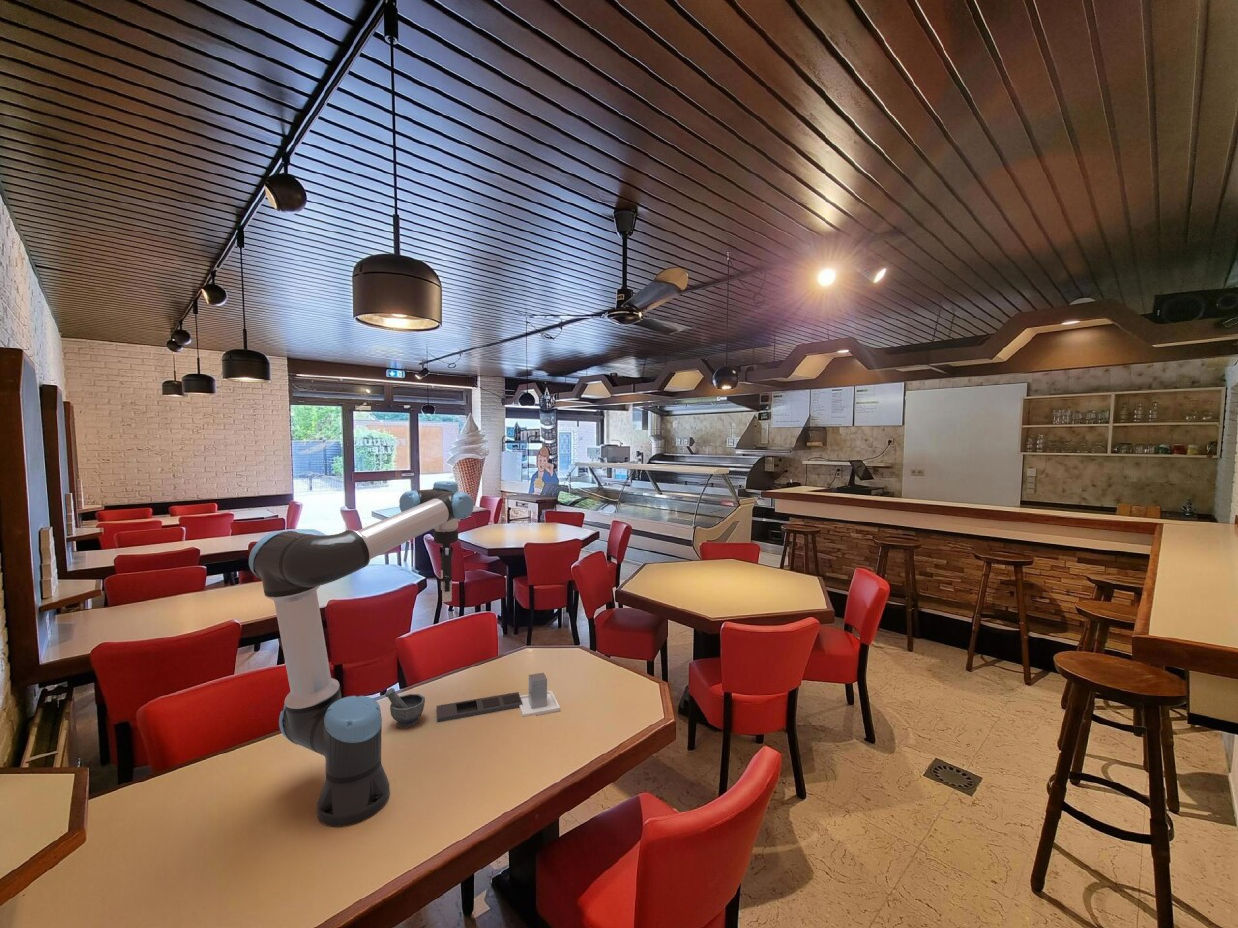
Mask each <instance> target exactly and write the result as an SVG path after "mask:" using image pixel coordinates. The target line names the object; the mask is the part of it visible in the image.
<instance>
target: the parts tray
mask: <svg viewBox="0 0 1238 928" xmlns="http://www.w3.org/2000/svg"><path fill="white" fill-rule="evenodd" d="M520 698H521V701H522V703H523V706H522V705H519V708H518V709H519V711H520V713H521V717H522V718H526V717H530V716H536V717H537V716H542V715H545V714H546V715H548V714H552V713H553V714H554V713H557V712H561V706H560V704H559V702H558V701H557V698H556V696H555V695H554V692H553V690H547V706H546V707H541V708H535V709H531V706H530V704H529V693H528V694H523V695H520Z"/></svg>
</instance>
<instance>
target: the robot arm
mask: <svg viewBox="0 0 1238 928" xmlns="http://www.w3.org/2000/svg"><path fill="white" fill-rule="evenodd" d="M458 484H459V483H457V482H456V481H448V480H443V481H434V483H433V487H432V488H430V489H429V488H427V489H418V490H416V489H413V490H410V491H409V490H407V491H405V492H403V493H402V494H401V496H400V498H399V501H398V502H399V510H400V511H401V512H399V513H396V514H395V515H394V514H393V515H392V516H389V517H387V518H385V519H382V520H380V521H377V522H375V523H373V524H370V525H367V526H365V527H362V528H360V529H358V530H355V529H348V530H344V531H342V532H339V533H335V534H327V535H320V534H319V535H318V534H309V533H303V532H297V531H294V530H285V531H284V530H280V531H279V530H278V531H274V532H271V533H268V534H267V535H264V536H263V537H261V538H260V539H259V540H258V541H257V542H256V543H255V545H254V546H253V547H252V549H251V550H250V553H249V556H248V566H249V567H248V568H249V569H250V571H251V572H252V574H254V576H255V577H256V578H258V579H261V582H262V588H263V594H264V596H265V597H266V598H267V599H270V600H272V601H274V607H275V613H276V619H277V625H278V630H279V635H280V641H281V647H282V651H283V657H284V663H285V668H286V673H287V679H288V684H289V690H290V691H289V692H288V694H287V695H286V696H285V699H284V705H283V709H282V710H281V711H280V714H279V716H278V717H279V719H278V725H279V726H278V727H279V730H280V732H281V733H282V735H283V736H284V737H285V739H287V740H288V741H289V742H291V743H292V744H294V745H297V746H301V747H303V748H306V749H308V750H309V751H310V750H311V751H312V752H314V753H317V754H320V755H321V756H324V758H325V779H324V782H323V784H322V785H323V786H322V787H321V790H320V791H321V792H320V794H319V797H318V799H317V803H316V812H317V813H316V816H317V820H319V822H320V823H321V824H323V825H326V826H327V827H328V826H329V827H346V826H351V825H355V824H358V823H361V822H363V821H364V820H367V819H369V818H371V817H372V816H374V815H375V814H377V813H378V812H379V811H380V810H382V809H383V808H384V806H385V805H386V803H387V802H388V800H389V798H390V792H391V791H390V789H391V788H390V781H389V778H388V776H387V774H386V771H385V769H384V766H383V763H382V731H383V730H382V725H383V724H382V722H383V716H382V712H381V711H382V709H381V706H380V704H379V702H378V701H377V700H376V699H374V698H373V697H369V696H366V695H359V696H357V695H349V696H346V697H342V692H341V685H340V682H339V681H338V680H337V679H336V678H333V677H332V675H331V671H330V663H329V658H328V652H327V646H326V645H327V644H326V640H325V634H324V627H323V622H322V616H321V608H320V603H319V598H318V589H319V588H320V587H321V586H324V585H327V584H330V583H333V582H336V581H338V580H340V579H342V578H345V577H347V576H349V575H352V574H353V573H356V572H358V571H360V570H361V569H363V568H365V567H367V566H369V564H370V562H371V560H372V559H375V558H377V557H378V556H381V555H382V554H384V553H387V552H388V551H390V550H393V549H394V548H396V547H399V546H400V545H402V544H405V543H407V542H408V541H411V540H412V539H415V538H417V537H419V536H421V535H423V534H425V533H427V532H429V531H431V530H434V531H433V542H434V543H435V544H440V545H441V546H440V547H439V548H438V551H439V557H440V580H439V581H440V590H441V591H442V593H441V596H442V597H441V598H442V599H441V600H442V601H441V602H442V603H446V602H452V601H453V600H452V599H453V595H452V594H453V592H452V591H453V588H452V587H453V586H452V585H453V581H452V580H453V576H452V571H453V570H452V561H453V553H454V550H453V549H454V548H453V546H451V544H452V543H453V544H454V543H457V542H458V541H459V530H458V528H459V522H461V520H464V519H468V518H469V517H470V516H471V515H472V513H473V511H474V505H475V504H474V499H473V498H472V496H471V495H470V494H468V493H467V492H461V491H459V485H458Z"/></svg>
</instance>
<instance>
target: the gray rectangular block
mask: <svg viewBox="0 0 1238 928" xmlns="http://www.w3.org/2000/svg"><path fill="white" fill-rule="evenodd" d="M547 691H548V677H546V674H545V672H540V673H539V672H538V673H532V674H528V694H529V704H530V706H531V709H535V708H541V707H546V706H547Z"/></svg>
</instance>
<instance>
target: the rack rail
mask: <svg viewBox="0 0 1238 928" xmlns="http://www.w3.org/2000/svg"><path fill="white" fill-rule="evenodd" d="M520 696H521V695H520V694H519V691H516V692H509V693H503V694H498V695H491V696H486V697H480V698H474V699H468V700H464V701H463V700H462V701H457V702H456V701H455V702H452V703H451V702H450V703H445V704H439V705H436V723H443V722H447V721H453V720H458V719H465V718H470V717H476V716H481V715H486V714H493V713H497V712H504V711H508V710H514V709H520V708H519V705H522V706H523V703H522V701H521V698H520Z"/></svg>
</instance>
